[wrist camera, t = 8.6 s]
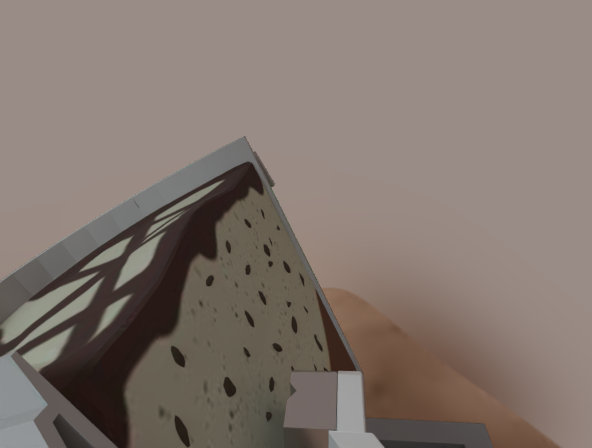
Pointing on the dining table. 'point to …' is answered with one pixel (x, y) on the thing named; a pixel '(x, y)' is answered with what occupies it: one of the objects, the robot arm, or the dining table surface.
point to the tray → (428, 434)
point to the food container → (167, 320)
